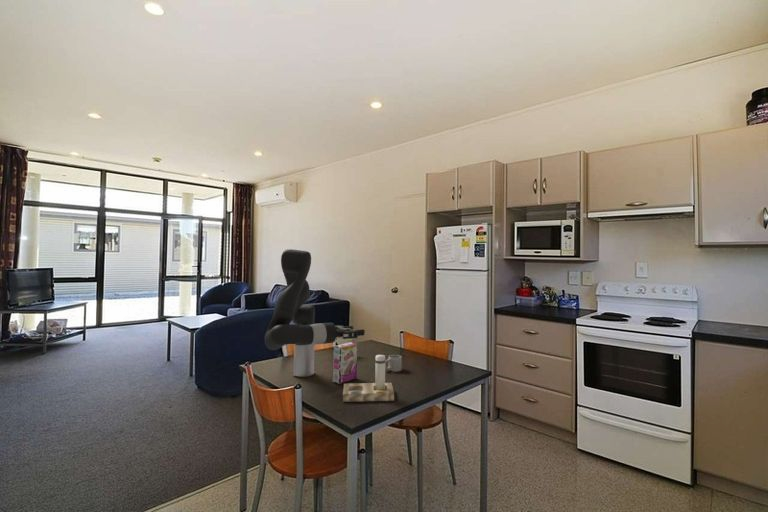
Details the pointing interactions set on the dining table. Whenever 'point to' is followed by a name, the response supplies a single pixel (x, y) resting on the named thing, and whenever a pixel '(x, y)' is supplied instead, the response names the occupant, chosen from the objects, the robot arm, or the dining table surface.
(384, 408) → the dining table surface
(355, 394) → the socket board
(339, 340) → the character mug
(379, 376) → the white tall cylinder
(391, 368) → the mug
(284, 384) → the dining table surface
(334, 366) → the candy bar box
